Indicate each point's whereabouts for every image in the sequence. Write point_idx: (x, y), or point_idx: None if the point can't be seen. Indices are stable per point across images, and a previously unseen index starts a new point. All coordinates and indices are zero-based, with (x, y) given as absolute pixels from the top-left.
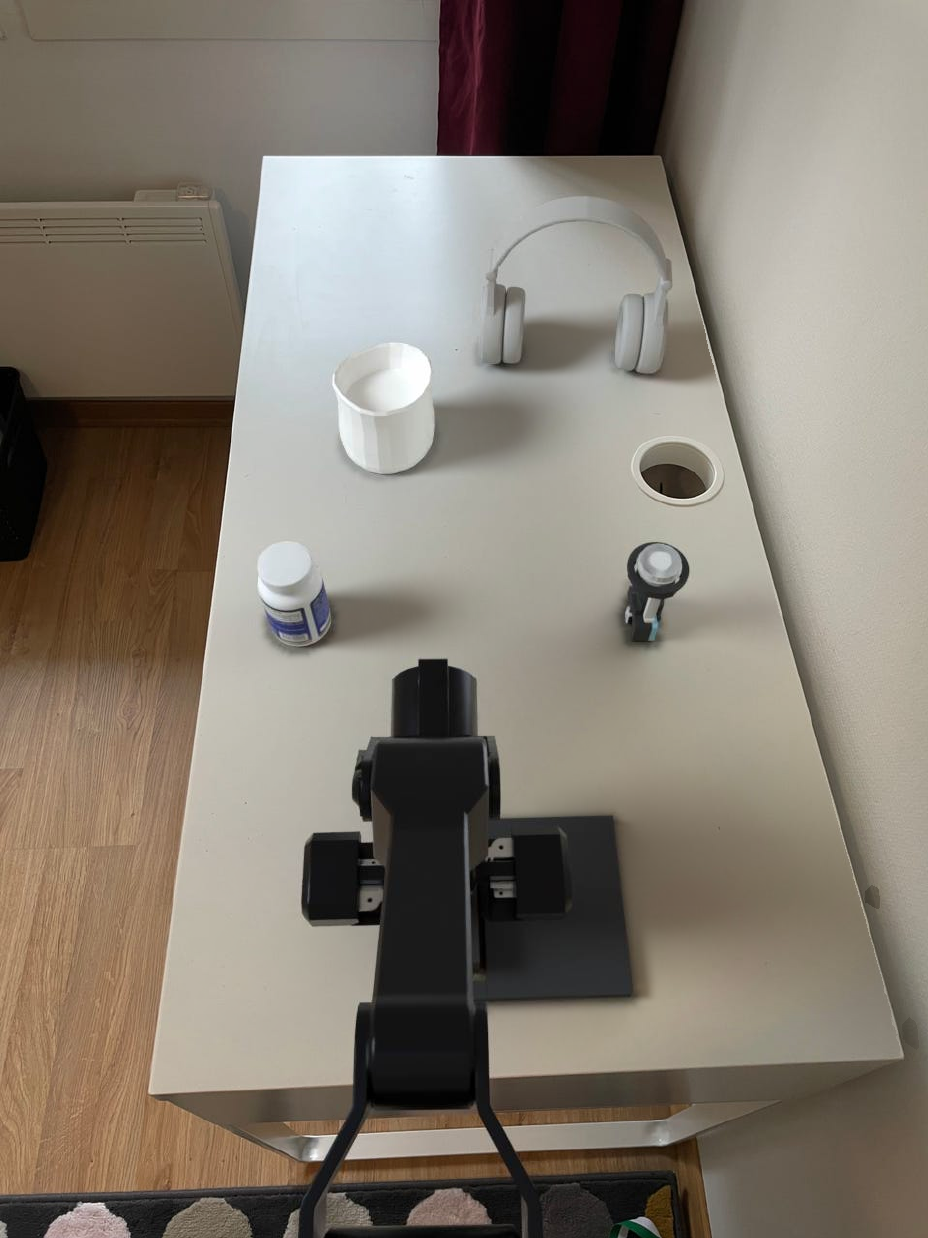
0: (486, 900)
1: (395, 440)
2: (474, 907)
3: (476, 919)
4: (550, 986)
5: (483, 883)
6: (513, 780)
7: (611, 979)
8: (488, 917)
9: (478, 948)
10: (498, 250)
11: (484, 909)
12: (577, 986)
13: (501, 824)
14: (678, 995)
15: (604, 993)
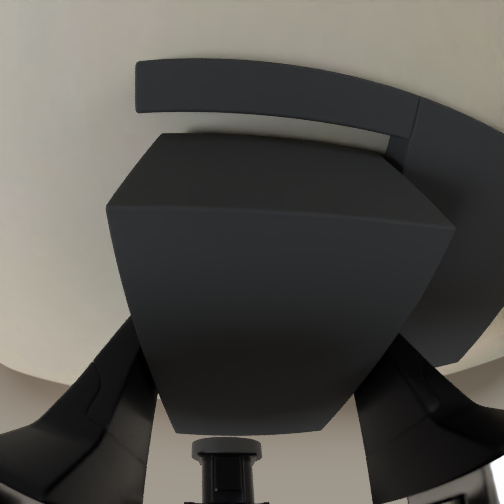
0: (389, 471)
1: None
2: (349, 392)
3: (343, 401)
4: None
5: (403, 428)
6: (482, 22)
7: (452, 356)
8: (374, 493)
9: (326, 422)
10: None
11: (373, 449)
12: None
13: (461, 130)
14: (481, 341)
15: (437, 366)
